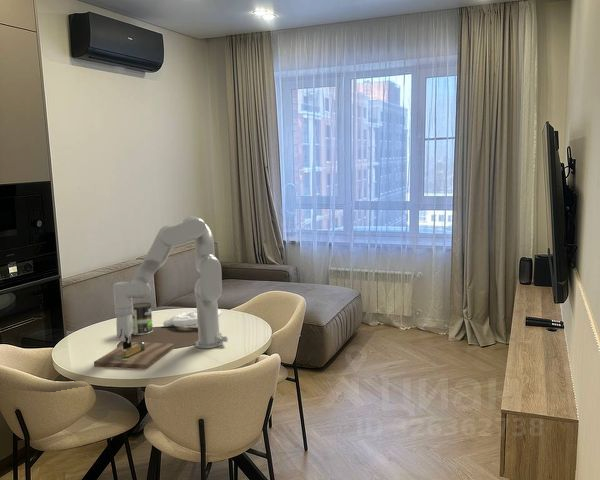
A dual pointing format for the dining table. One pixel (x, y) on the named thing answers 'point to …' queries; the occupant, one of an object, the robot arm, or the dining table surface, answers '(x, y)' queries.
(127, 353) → the peg
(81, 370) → the dining table surface
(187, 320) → the pretzel
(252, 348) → the dining table surface
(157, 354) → the tuner board
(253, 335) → the dining table surface
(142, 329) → the coffee can
